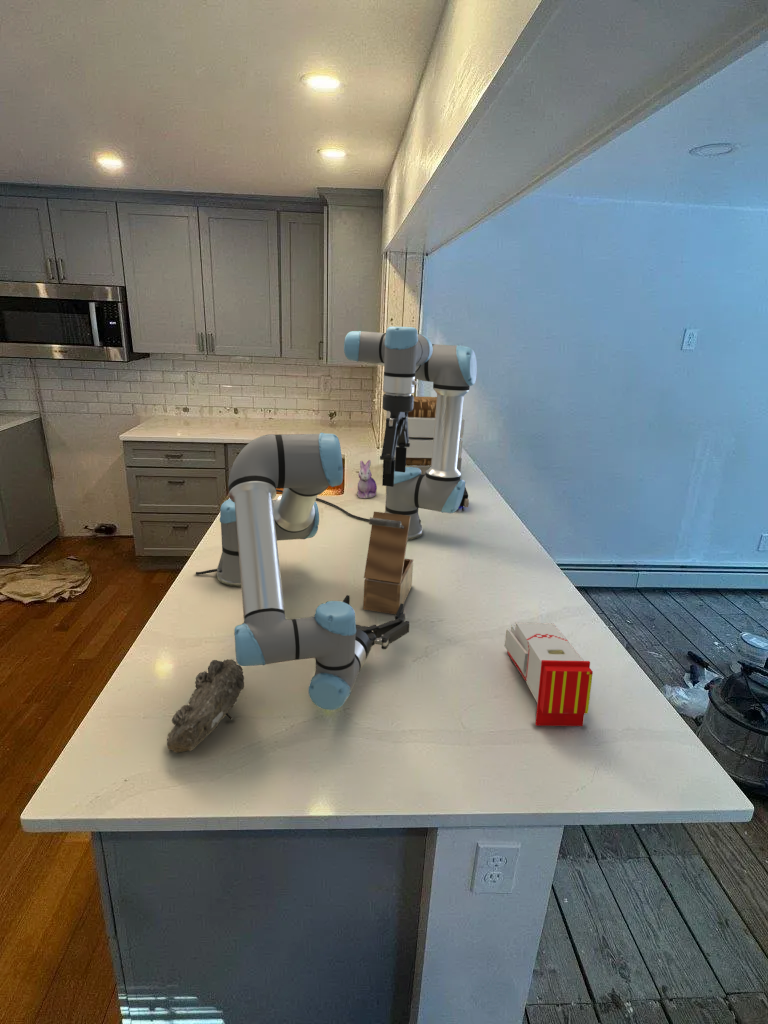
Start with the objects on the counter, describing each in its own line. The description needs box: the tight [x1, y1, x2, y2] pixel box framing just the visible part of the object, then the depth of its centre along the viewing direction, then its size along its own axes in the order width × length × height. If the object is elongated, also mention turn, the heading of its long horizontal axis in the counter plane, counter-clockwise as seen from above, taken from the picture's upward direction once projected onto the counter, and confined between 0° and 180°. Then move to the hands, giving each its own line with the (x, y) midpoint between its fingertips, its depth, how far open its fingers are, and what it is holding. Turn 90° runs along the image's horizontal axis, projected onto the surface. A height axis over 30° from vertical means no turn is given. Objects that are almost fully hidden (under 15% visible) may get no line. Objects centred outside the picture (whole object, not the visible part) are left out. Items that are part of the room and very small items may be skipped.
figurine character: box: [455, 486, 470, 512], centre depth 229 cm, size 7×8×15 cm
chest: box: [362, 558, 414, 616], centre depth 154 cm, size 17×10×9 cm, turn 166°
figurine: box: [356, 459, 378, 499], centre depth 236 cm, size 9×10×15 cm
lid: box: [363, 511, 411, 583], centre depth 142 cm, size 17×10×8 cm
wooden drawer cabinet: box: [385, 395, 465, 474], centre depth 268 cm, size 34×33×41 cm
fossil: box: [166, 658, 245, 754], centre depth 106 cm, size 22×10×15 cm
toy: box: [503, 622, 594, 727], centre depth 121 cm, size 12×13×30 cm
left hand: (374, 604), depth 138 cm, fingers open, 13 cm apart
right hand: (394, 478), depth 144 cm, fingers open, 13 cm apart
